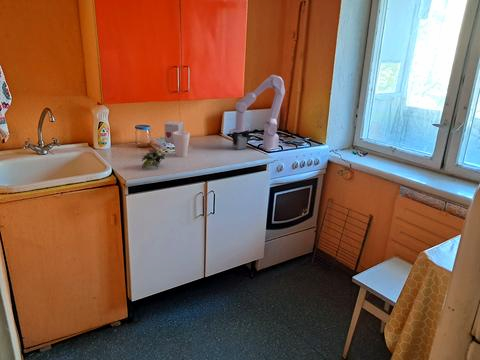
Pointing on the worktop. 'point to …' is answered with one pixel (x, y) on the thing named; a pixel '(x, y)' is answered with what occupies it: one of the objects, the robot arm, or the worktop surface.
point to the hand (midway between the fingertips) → (239, 143)
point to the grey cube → (241, 142)
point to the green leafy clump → (153, 158)
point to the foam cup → (181, 142)
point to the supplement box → (172, 130)
